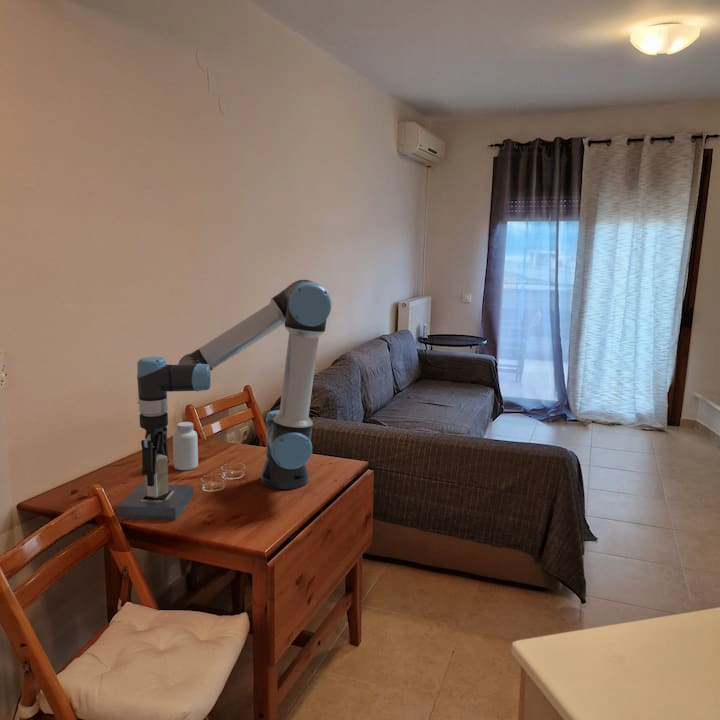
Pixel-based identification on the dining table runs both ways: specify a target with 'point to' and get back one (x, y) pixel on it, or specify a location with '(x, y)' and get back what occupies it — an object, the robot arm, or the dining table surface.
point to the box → (160, 475)
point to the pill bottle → (185, 447)
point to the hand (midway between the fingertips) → (157, 490)
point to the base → (156, 503)
